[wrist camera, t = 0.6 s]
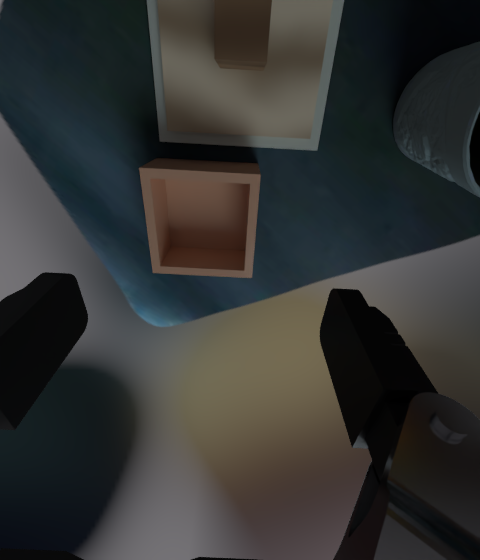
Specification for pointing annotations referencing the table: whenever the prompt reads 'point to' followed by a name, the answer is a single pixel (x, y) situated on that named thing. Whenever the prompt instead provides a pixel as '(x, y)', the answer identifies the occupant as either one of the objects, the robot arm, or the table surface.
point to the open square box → (201, 216)
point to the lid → (242, 65)
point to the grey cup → (444, 117)
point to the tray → (243, 139)
